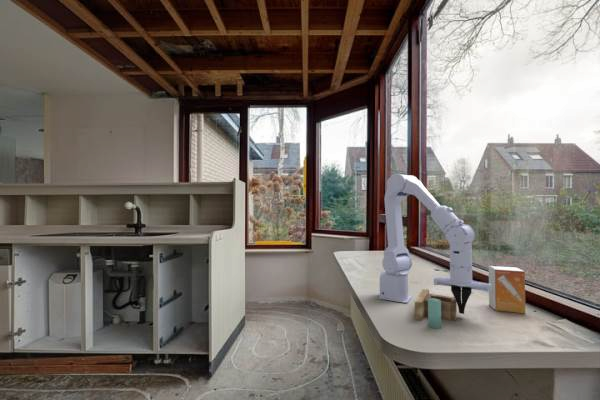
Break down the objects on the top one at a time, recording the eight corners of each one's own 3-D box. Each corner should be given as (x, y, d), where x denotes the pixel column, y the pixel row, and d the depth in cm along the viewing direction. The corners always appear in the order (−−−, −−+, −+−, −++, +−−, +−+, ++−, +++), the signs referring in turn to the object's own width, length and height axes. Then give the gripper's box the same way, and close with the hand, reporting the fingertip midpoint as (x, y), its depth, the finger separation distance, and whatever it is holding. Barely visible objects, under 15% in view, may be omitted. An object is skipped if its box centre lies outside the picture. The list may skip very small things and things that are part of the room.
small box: (495, 311, 89) (494, 269, 89) (488, 304, 95) (488, 265, 95) (526, 314, 86) (525, 270, 87) (517, 307, 92) (516, 267, 93)
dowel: (427, 326, 76) (427, 300, 77) (429, 322, 79) (428, 297, 79) (440, 329, 75) (440, 302, 75) (441, 325, 77) (441, 299, 78)
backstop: (414, 318, 82) (414, 301, 82) (422, 304, 95) (422, 289, 95) (422, 320, 81) (422, 302, 81) (429, 305, 94) (429, 290, 94)
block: (424, 315, 85) (424, 300, 85) (428, 307, 91) (428, 293, 92) (455, 320, 80) (454, 304, 81) (456, 312, 87) (456, 297, 87)
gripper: (432, 265, 84) (432, 311, 84) (491, 271, 76) (492, 322, 76) (435, 261, 90) (435, 305, 90) (489, 266, 82) (490, 314, 82)
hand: (461, 312), depth 83 cm, fingers closed
